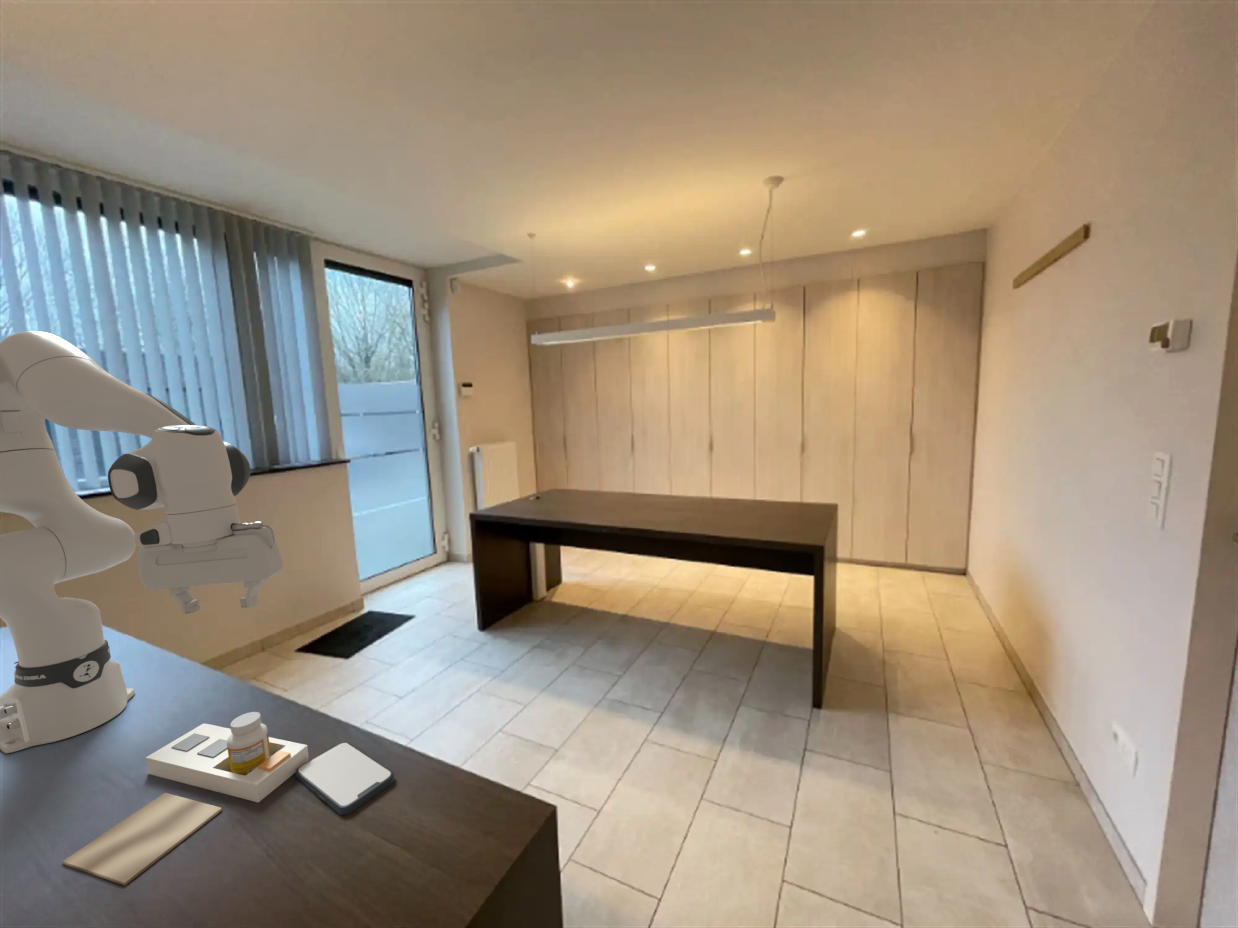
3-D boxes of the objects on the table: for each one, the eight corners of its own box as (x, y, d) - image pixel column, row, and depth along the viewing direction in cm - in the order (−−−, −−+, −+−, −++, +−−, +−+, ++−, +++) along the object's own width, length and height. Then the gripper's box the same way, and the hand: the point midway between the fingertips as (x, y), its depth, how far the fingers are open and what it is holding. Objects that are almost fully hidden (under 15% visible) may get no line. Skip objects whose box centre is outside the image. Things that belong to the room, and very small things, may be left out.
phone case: (292, 778, 81) (343, 821, 72) (291, 769, 81) (342, 811, 72) (346, 747, 88) (398, 781, 80) (345, 738, 88) (397, 772, 79)
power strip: (148, 773, 82) (145, 754, 81) (205, 737, 91) (203, 720, 90) (258, 802, 76) (255, 781, 75) (309, 760, 84) (307, 742, 84)
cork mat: (62, 863, 66) (62, 860, 66) (165, 794, 77) (164, 792, 77) (124, 885, 63) (124, 882, 63) (222, 810, 74) (221, 807, 74)
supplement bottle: (246, 762, 84) (239, 709, 83) (279, 759, 85) (272, 707, 83) (223, 786, 79) (216, 731, 78) (259, 784, 79) (252, 728, 78)
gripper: (284, 516, 81) (297, 596, 83) (159, 527, 81) (175, 607, 83) (257, 524, 75) (272, 611, 77) (122, 537, 75) (139, 623, 76)
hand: (220, 609), depth 80 cm, fingers open, 8 cm apart
